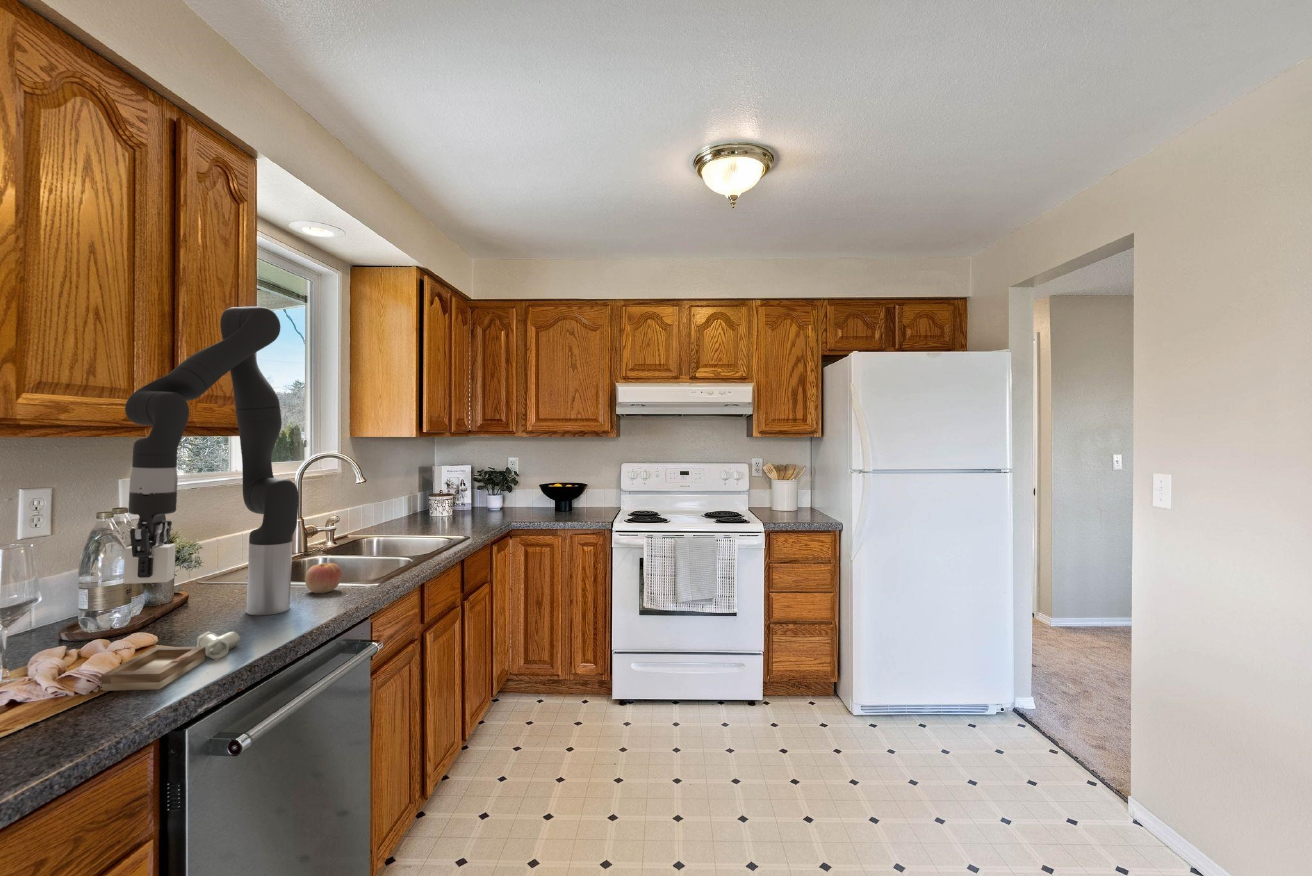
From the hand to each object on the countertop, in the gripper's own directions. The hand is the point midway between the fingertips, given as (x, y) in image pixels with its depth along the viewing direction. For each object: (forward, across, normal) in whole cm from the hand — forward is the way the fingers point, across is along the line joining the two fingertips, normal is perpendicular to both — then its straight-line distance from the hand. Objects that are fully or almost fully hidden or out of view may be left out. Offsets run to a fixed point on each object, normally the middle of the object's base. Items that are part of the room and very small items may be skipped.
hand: (149, 574), depth 124 cm
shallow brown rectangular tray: (+16, +15, +6) cm, 22 cm away
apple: (+15, -44, +26) cm, 53 cm away
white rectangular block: (+1, 0, 0) cm, 1 cm away
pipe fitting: (+16, +4, +14) cm, 22 cm away
